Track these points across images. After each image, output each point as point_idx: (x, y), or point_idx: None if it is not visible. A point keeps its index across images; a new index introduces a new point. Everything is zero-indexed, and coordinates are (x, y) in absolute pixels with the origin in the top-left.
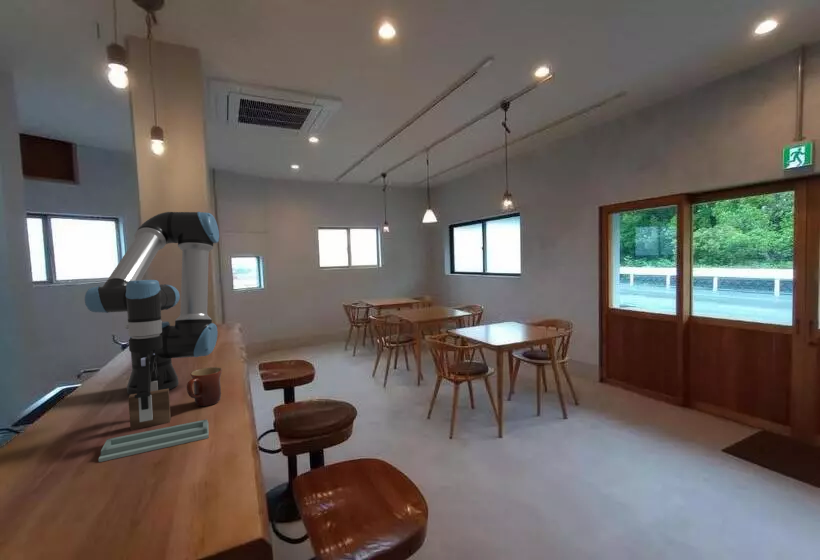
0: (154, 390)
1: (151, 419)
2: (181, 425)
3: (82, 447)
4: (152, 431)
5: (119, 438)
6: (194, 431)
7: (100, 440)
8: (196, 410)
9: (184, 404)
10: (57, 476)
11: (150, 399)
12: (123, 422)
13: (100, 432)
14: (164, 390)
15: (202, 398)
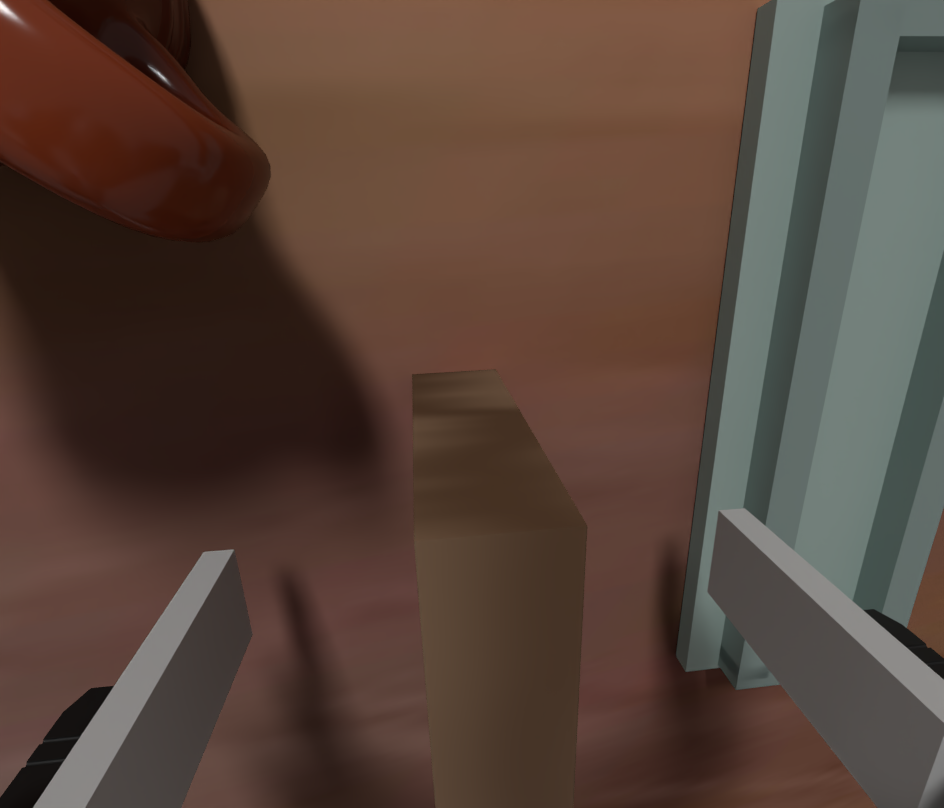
0: (169, 706)
1: (748, 516)
2: (840, 251)
3: (623, 753)
4: (805, 460)
5: None
6: None
7: None
8: (281, 148)
9: (20, 293)
10: None
11: (927, 675)
12: (318, 678)
13: None
14: (497, 587)
15: (157, 32)
